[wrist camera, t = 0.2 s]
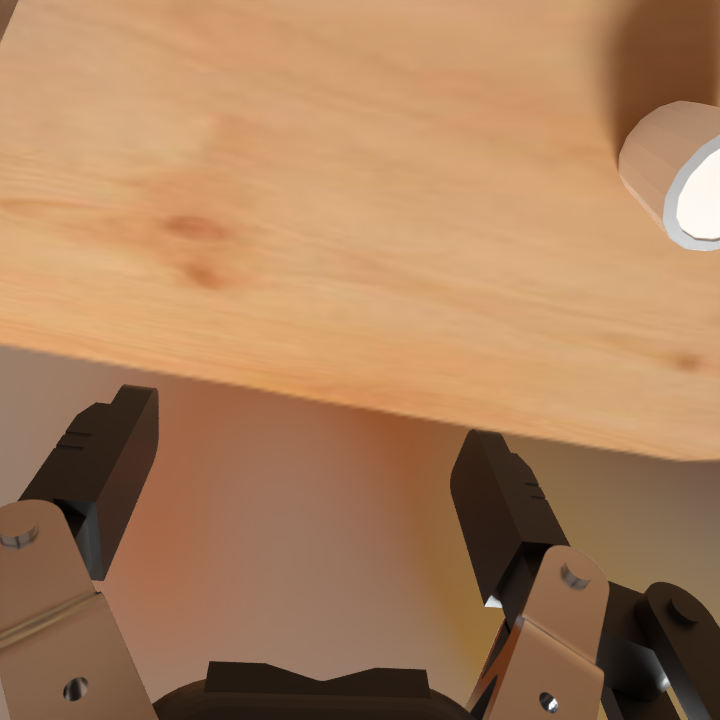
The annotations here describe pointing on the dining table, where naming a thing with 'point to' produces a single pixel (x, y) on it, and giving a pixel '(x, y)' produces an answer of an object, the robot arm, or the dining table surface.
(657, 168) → the shot glass
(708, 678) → the robot arm
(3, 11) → the lamp housing
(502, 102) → the dining table surface
